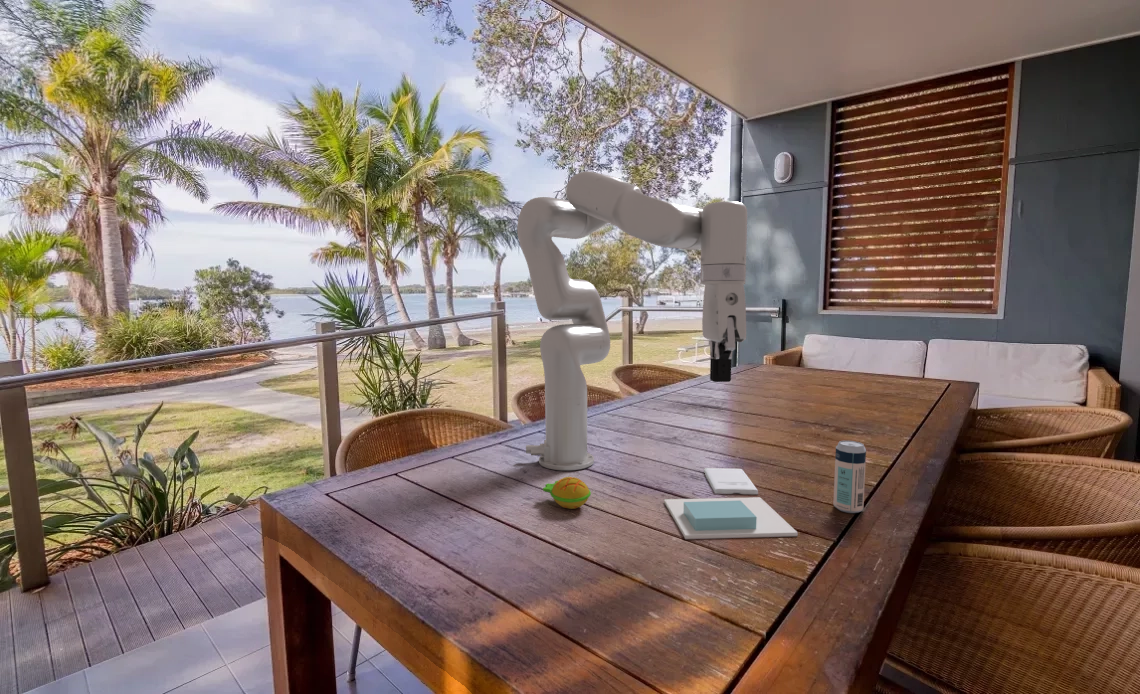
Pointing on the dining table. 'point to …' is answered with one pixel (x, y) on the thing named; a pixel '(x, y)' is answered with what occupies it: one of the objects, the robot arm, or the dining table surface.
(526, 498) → the dining table surface
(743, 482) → the external hard drive
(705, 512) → the tile
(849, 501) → the beer can
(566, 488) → the yellow green rounded piece
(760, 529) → the mat
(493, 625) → the dining table surface
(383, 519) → the dining table surface
